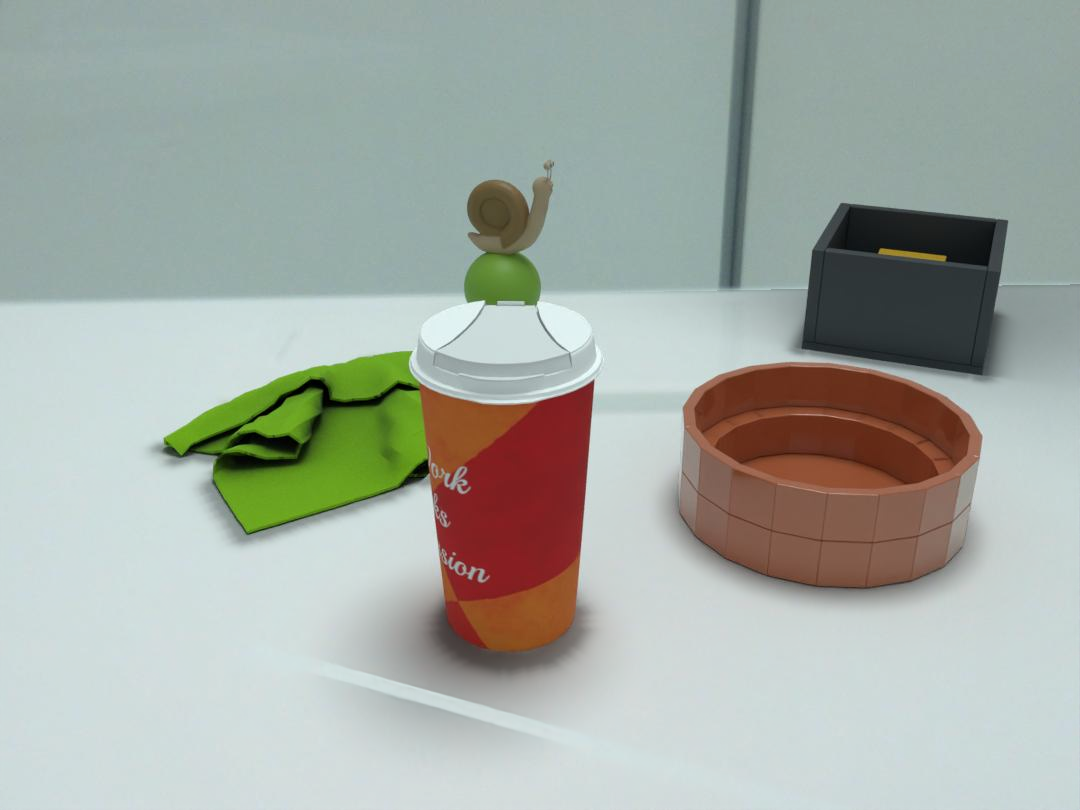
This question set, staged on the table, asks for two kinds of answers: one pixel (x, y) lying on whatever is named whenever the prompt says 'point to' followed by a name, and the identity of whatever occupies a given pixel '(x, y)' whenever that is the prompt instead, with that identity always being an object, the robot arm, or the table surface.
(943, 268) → the bin
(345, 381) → the cloth
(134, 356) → the table surface
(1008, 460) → the table surface
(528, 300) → the snail figurine
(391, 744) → the table surface
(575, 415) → the paper cup
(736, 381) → the bowl
